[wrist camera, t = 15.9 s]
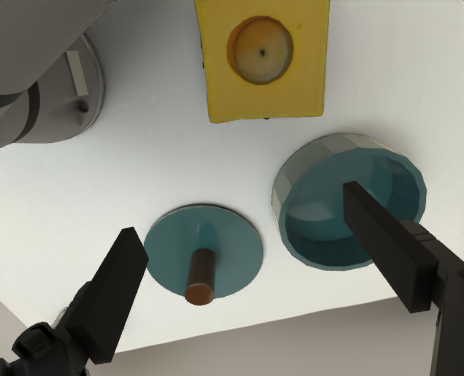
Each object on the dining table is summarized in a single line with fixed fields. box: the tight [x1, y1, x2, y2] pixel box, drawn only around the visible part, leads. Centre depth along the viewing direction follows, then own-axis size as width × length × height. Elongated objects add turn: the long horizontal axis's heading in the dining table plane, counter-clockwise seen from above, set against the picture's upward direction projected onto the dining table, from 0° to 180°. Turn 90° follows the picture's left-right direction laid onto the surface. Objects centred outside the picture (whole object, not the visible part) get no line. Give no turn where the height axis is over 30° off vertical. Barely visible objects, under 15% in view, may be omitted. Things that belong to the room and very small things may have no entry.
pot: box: [271, 133, 427, 271], centre depth 34 cm, size 18×18×6 cm
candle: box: [194, 0, 330, 124], centre depth 24 cm, size 10×10×10 cm
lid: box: [143, 205, 263, 306], centre depth 37 cm, size 19×19×8 cm
